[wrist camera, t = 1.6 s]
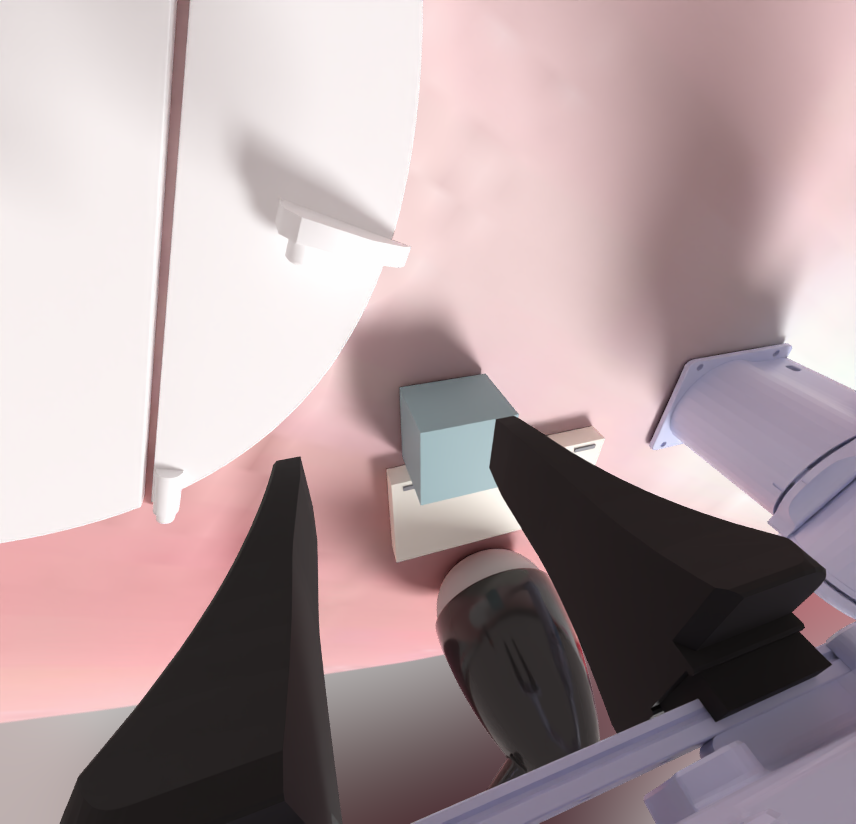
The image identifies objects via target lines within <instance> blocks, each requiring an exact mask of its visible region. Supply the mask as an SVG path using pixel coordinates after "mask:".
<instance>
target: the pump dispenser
mask: <svg viewBox="0 0 856 824" xmlns="http://www.w3.org/2000/svg"><path fill="white" fill-rule="evenodd" d="M436 632H437V636H438V639H439V642H440V645H441V648H442V650H443V652H444V655H445V657H446V659H447V662H448V664H449V666H450V668H451V670H452V672H453V675H454V677H455V679H456V681H457V683H458V685H459V687H460V689H461V690H462V692H463V694H464V696H465V698H466V699H467V701H468V703H469V705H470V706H471V708H472V710H473V711H474V713H475V714H476V716H477V717H478V719H479V721H480V722H481V724H482V725H483V726H484V728H485V729H486V731H487V732H488V734H489V735H490V736H491V738H492V739H493V740H494V742H495V743H496V744H497V745H498V746H499V748H500V749H501V750H502V751H503V753H504V754H505V755H506V760H505V762H504V763H503V765H502V767H501V768H500V770H499V771H498V773H497V774H496V776H495V777H494V779H493V780H492V782H491V784H490V786H489V787H488V788H487V790H489V789H491V788H494V787H496V786H498V785H500V784H503V783H505V782H507V781H510V780H512V779H514V778H517V777H519V776H521V775H523V774H526V773H528V772H530V771H533V770H535V769H537V768H540V767H542V766H544V765H546V764H549V763H551V762H553V761H556V760H558V759H560V758H563V757H565V756H567V755H569V754H572V753H574V752H576V751H579V750H581V749H583V748H586V747H588V746H590V745H592V744H595V743H597V742H599V741H600V735H599V725H598V718H597V712H596V706H595V701H594V696H593V691H592V687H591V682H590V678H589V674H588V670H587V666H586V663H585V660H584V656H583V653H582V649H581V646H580V643H579V640H578V637H577V635H576V633H575V630H574V628H573V626H572V624H571V621H570V619H569V617H568V615H567V613H566V610H565V608H564V606H563V604H562V602H561V599H560V597H559V595H558V593H557V591H556V589H555V587H554V585H553V583H552V581H551V579H550V577H549V576H548V575H547V574H546V573H545V572H543V571H541V570H539V569H538V568H537V567H536V566H535V565H534V564H533V563H532V562H531V561H530V560H529V559H527V558H526V557H524V556H522V555H521V554H519V553H516V552H514V551H510V550H506V549H489V550H484V551H480V552H477V553H474V554H472V555H470V556H468V557H466V558H465V559H463V560H462V561H460V562H459V563H458V564H456V565H455V566H454V567H453V568H452V569H451V570H450V571H449V573H448V574H447V575H446V577H445V579H444V580H443V582H442V584H441V587H440V590H439V593H438V598H437V621H436ZM487 790H486V791H487Z"/></svg>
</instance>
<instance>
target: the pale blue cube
mask: <svg viewBox="0 0 856 824" xmlns="http://www.w3.org/2000/svg"><path fill="white" fill-rule="evenodd" d="M399 390H400V414H401V438H402V457H403V460H404V462H405V465H406V468H407V470H408V473H409V476H410V478H411V481H412V484H413V486H414V489H415V492H416V494H417V497H418V500H419V502H420V505H425V504H429V503H434V502H438V501H442V500H446V499H451V498H455V497H459V496H463V495H467V494H472V493H476V492H480V491H484V490H489V489H493V488H497V485H496V483H495V480H494V478H493V476H492V473H491V471H490V469H489V465H490V457H491V450H492V443H493V436H494V428H495V421H496V419H499V418H504V417H509V416H516V417H517V418H518V415H519V414H518V413H517V412H516V411H515V409H514V408H513V407H512V406H511V404H510V403H509V402H508V401H507V400H506V398H505V397H504V396H503V395H502V393H501V392H500V391H499V390H498V389H497V387H496V386H495V385H494V384H493V382H492V381H491V380H490V379H489V377H488V376H487V375H486V374H480V375H474V376H468V377H462V378H455V379H449V380H443V381H437V382H430V383H424V384H418V385H412V386H405V387H399Z"/></svg>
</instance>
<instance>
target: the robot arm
mask: <svg viewBox="0 0 856 824" xmlns="http://www.w3.org/2000/svg"><path fill="white" fill-rule="evenodd" d="M791 350H792V346H791V345H789V344H787V343H785V344H779V345H773V346H767V347H762V348H756V349H750V350H745V351H739V352H733V353H727V354H722V355H716V356H710V357H704V358H699V359H693V360H690V361H689V362H687V364H686V365H685V366H684V369H683V371H682V373H681V375H680V378H679V380H678V382H677V384H676V386H675V389H674V391H673V393H672V395H671V398H670V400H669V402H668V404H667V406H666V409H665V411H664V413H663V415H662V418H661V420H660V422H659V424H658V427H657V429H656V431H655V433H654V435H653V438H652V440H651V442H650V445H649V446H650V448H651V449H653V450H658V449H662V448H666V447H671V446H675V445H679V444H683V443H684V444H685V445H686V446H688V447H689V448H690V449H691V450H693V451H694V452H695V453H696V454H698V455H699V456H700V457H701V458H703V459H704V460H705V461H706V462H707V463H709V464H710V465H711V466H712V467H714V468H715V469H716V470H717V471H719V472H720V473H721V474H722V475H724V476H725V477H726V478H727V479H729V480H730V481H731V482H732V483H734V484H735V485H736V486H737V487H739V488H740V489H741V490H742V491H744V492H745V493H746V494H747V495H749V496H750V497H751V498H752V499H753V500H755V501H756V502H757V503H758V504H760V505H761V506H762V507H763V508H765V509H766V510H767V511H768V512H770V513H771V514H772V515H773V516H772V517H771V518H770V519H769V520H768V522H767V523H768V524H769V525H770V526H772V527H773V528H774V529H775V530H776V531H778V532H779V534H778V535H775V534H771V533H767V532H764V531H760V530H756V529H753V528H749V527H745V526H742V525H738V524H735V523H732V522H728V521H725V520H722V519H719V518H716V517H713V516H710V515H707V514H704V513H701V512H698V511H695V510H693V509H690V508H687V507H684V506H682V505H679V504H677V503H674V502H672V501H669V500H667V499H664V498H662V497H659V496H657V495H654V494H652V493H650V492H647V491H645V490H643V489H641V488H639V487H636V486H634V485H632V484H630V483H628V482H626V481H624V480H622V479H620V478H618V477H616V476H614V475H612V474H610V473H608V472H606V471H604V470H602V469H601V468H599V467H597V466H595V465H593V464H592V463H590V462H588V461H586V460H585V459H583V458H581V457H579V456H578V455H576V454H574V453H573V452H571V451H569V450H568V449H566V448H565V447H563V446H561V445H560V444H558V443H557V442H555V441H553V440H552V439H550V438H549V437H547V436H546V435H544V434H543V433H541V432H539V431H538V430H536V429H535V428H533V427H532V426H530V425H529V424H527V423H525V422H524V421H522V420H521V419H519V418H517V417H516V416H509V417H504V418H499V419H496V421H495V428H494V436H493V443H492V450H491V457H490V465H489V469H490V471H491V473H492V476H493V478H494V480H495V483H496V485H497V487H498V489H499V491H500V493H501V496H502V497H503V499H504V501H505V502H506V504H507V506H508V507H509V509H510V511H511V512H512V514H513V516H514V517H515V519H516V521H517V522H518V524H519V525H520V527H521V529H522V530H523V532H524V533H525V535H526V537H527V538H528V540H529V542H530V543H531V545H532V546H533V548H534V550H535V551H536V553H537V554H538V556H539V558H540V560H541V561H542V563H543V565H544V567H545V569H546V571H547V573H548V575H549V577H550V579H551V581H552V583H553V585H554V587H555V589H556V591H557V593H558V595H559V597H560V599H561V602H562V604H563V606H564V608H565V610H566V613H567V615H568V617H569V619H570V621H571V624H572V626H573V628H574V630H575V633H576V635H577V637H578V640H579V642H580V644H581V647H582V649H583V651H584V654H585V656H586V659H587V661H588V663H589V665H590V668H591V671H592V673H593V676H594V678H595V681H596V683H597V686H598V689H599V691H600V694H601V696H602V699H603V701H604V704H605V707H606V710H607V712H608V715H609V718H610V721H611V723H612V725H613V727H614V729H615V731H616V733H617V734H616V735H613V736H611V737H609V738H606V739H604V740H602V741H599V742H597V743H595V744H592V745H590V746H588V747H586V748H583V749H581V750H579V751H576V752H574V753H572V754H569V755H567V756H565V757H563V758H560V759H558V760H556V761H553V762H551V763H549V764H546V765H544V766H542V767H540V768H537V769H535V770H533V771H530V772H528V773H526V774H523V775H521V776H519V777H517V778H514V779H512V780H510V781H507V782H505V783H503V784H500V785H498V786H496V787H494V788H491V789H489V790H487V791H484V792H482V793H480V794H478V795H475V796H473V797H471V798H468V799H466V800H464V801H461V802H459V803H457V804H455V805H452V806H450V807H448V808H445V809H443V810H441V811H438V812H436V813H434V814H432V815H429V816H427V817H425V818H422V819H420V820H418V821H415V822H413V823H411V824H539V823H540V822H543V821H545V820H547V819H549V818H551V817H553V816H555V815H558V814H560V813H562V812H564V811H566V810H568V809H570V808H572V807H574V806H577V805H579V804H581V803H583V802H585V801H587V800H589V799H591V798H594V797H595V796H598V795H600V794H602V793H604V792H606V791H608V790H610V789H613V788H615V787H617V786H619V785H621V784H623V783H625V782H627V781H629V780H632V779H634V778H636V777H638V776H640V775H642V774H644V773H646V772H648V771H651V770H653V769H655V768H657V767H659V766H661V765H663V764H665V763H667V762H670V761H671V760H674V759H676V758H678V757H680V756H682V755H684V754H686V753H688V752H691V751H693V750H695V749H697V748H699V747H701V746H702V747H701V748H700V757H701V759H700V760H698V761H697V762H695V763H693V764H691V765H689V766H687V767H686V768H684V769H682V770H680V771H678V772H677V773H675V774H674V775H673V776H672V777H671V778H670V779H669V780H667V781H666V782H664V783H663V784H662V785H660V786H658V787H657V788H655V789H654V790H652V791H650V792H649V793H647V794H646V795H644V803H645V804H646V806H647V808H648V810H649V812H650V814H651V815H652V817H653V819H654V821H655V823H656V824H856V622H854V623H852V624H849V625H847V626H846V627H844V628H842V629H841V630H839V631H838V632H836V633H835V634H833V635H832V636H831V637H830V638H829V639H827V640H826V643H825V644H822V645H820V646H818V647H814V646H813V645H812V644H811V643H810V642H809V641H808V640H807V639H806V638H805V637H804V636H803V635H802V634H801V633H800V632H799V631H801V630H803V629H804V628H805V627H804V624H803V623H802V622H801V621H800V620H799V619H798V618H797V617H796V616H795V615H794V614H793V613H792V612H793V611H794V610H795V609H796V608H797V607H798V606H799V605H800V604H801V603H802V602H803V601H805V599H807V598H808V597H809V596H810V595H811V594H812V593H813V592H814V593H815V594H817V595H818V596H819V597H820V598H822V599H823V600H824V601H826V602H827V603H829V604H830V605H832V606H833V607H835V608H836V609H838V610H839V611H841V612H843V613H844V614H846V615H848V616H850V617H852V618H854V619H855V620H856V391H855V390H853V389H851V388H849V387H847V386H845V385H843V384H841V383H838V382H836V381H834V380H832V379H830V378H828V377H826V376H824V375H822V374H820V373H817V372H815V371H813V370H811V369H809V368H807V367H805V366H803V365H801V364H799V363H796V362H794V361H792V360H790V359H788V358H787V356H788V355H789V353H790V351H791ZM60 824H342V817H341V810H340V802H339V794H338V786H337V779H336V771H335V764H334V755H333V747H332V739H331V731H330V723H329V714H328V706H327V697H326V689H325V680H324V671H323V662H322V653H321V644H320V634H319V611H318V555H317V535H316V527H315V520H314V512H313V506H312V501H311V497H310V493H309V489H308V485H307V481H306V477H305V473H304V469H303V465H302V461H301V457H295V458H289V459H284V460H279V461H276V462H275V464H274V465H273V468H272V472H271V476H270V479H269V482H268V485H267V488H266V491H265V494H264V497H263V499H262V502H261V504H260V507H259V509H258V512H257V514H256V516H255V519H254V521H253V524H252V526H251V528H250V530H249V533H248V535H247V537H246V539H245V541H244V543H243V545H242V547H241V549H240V551H239V553H238V555H237V557H236V559H235V561H234V563H233V565H232V567H231V568H230V570H229V572H228V574H227V576H226V578H225V579H224V581H223V583H222V585H221V586H220V588H219V590H218V591H217V593H216V595H215V596H214V598H213V600H212V601H211V603H210V605H209V606H208V608H207V609H206V611H205V612H204V614H203V615H202V617H201V618H200V620H199V622H198V623H197V625H196V626H195V628H194V629H193V631H192V632H191V634H190V635H189V637H188V638H187V640H186V641H185V642H184V644H183V645H182V647H181V648H180V650H179V651H178V652H177V654H176V655H175V656H174V658H173V659H172V660H171V662H170V663H169V664H168V666H167V667H166V668H165V670H164V671H163V673H162V674H161V675H160V677H159V678H158V679H157V681H156V682H155V683H154V685H153V686H152V687H151V689H150V690H149V691H148V693H147V694H146V695H145V697H144V698H143V699H142V700H141V702H140V703H139V704H138V705H137V707H136V708H135V709H134V711H133V712H132V713H131V714H130V715H129V717H128V718H127V719H126V720H125V721H124V723H123V724H122V725H121V726H120V727H119V729H118V730H117V731H116V732H115V733H114V735H113V736H112V737H111V738H110V740H109V741H108V742H107V743H106V744H105V746H104V747H103V748H102V749H101V750H100V752H99V753H98V754H97V755H96V756H95V757H94V759H93V760H92V761H91V762H90V763H89V765H88V766H87V767H86V768H85V769H84V771H83V772H82V773H81V774H80V775H79V777H78V779H77V782H76V784H75V787H74V789H73V792H72V794H71V797H70V799H69V802H68V804H67V806H66V809H65V811H64V814H63V816H62V819H61V822H60Z"/></svg>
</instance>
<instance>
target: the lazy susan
mask: <svg viewBox="0 0 856 824" xmlns="http://www.w3.org/2000/svg"><path fill="white" fill-rule="evenodd" d="M176 13H177V0H0V543H5V542H10V541H16V540H22V539H27V538H32V537H37V536H42V535H46V534H51V533H55V532H59V531H64V530H68V529H72V528H75V527H79V526H83V525H87V524H90V523H94V522H97V521H101V520H104V519H107V518H110V517H113V516H116V515H119V514H122V513H125V512H128V511H131V510H134V509H136V508H139V507H141V504H142V502H143V499H144V496H145V483H146V467H147V452H148V437H149V422H150V407H151V392H152V376H153V361H154V346H155V331H156V316H157V301H158V286H159V270H160V255H161V240H162V225H163V210H164V195H165V179H166V164H167V149H168V134H169V119H170V104H171V89H172V73H173V58H174V43H175V28H176ZM422 32H423V0H190V6H189V19H188V32H187V45H186V58H185V70H184V83H183V96H182V109H181V122H180V135H179V148H178V161H177V174H176V187H175V200H174V213H173V226H172V239H171V252H170V265H169V278H168V291H167V304H166V317H165V330H164V343H163V355H162V368H161V381H160V394H159V407H158V420H157V433H156V446H155V459H154V472H153V485H152V498H151V502H153V513H154V514H155V515H156V520H157V521H158V522H159V523H162V524H167V523H170V522H172V521H173V520H174V519H175V514H176V513H177V512H178V511H179V506H180V498H181V490H182V489H183V488H185V487H187V486H189V485H191V484H193V483H195V482H197V481H199V480H201V479H203V478H204V477H206V476H208V475H210V474H211V473H213V472H215V471H217V470H218V469H220V468H221V467H223V466H225V465H226V464H228V463H229V462H231V461H233V460H234V459H235V458H237V457H238V456H240V455H241V454H243V453H244V452H246V451H247V450H248V449H250V448H251V447H252V446H254V445H255V444H256V443H258V442H259V441H260V440H261V439H263V438H264V437H265V436H266V435H267V434H269V433H270V432H271V431H272V430H273V429H274V428H276V427H277V426H278V425H279V424H280V423H281V422H282V421H283V420H284V419H285V418H286V417H287V416H289V415H290V414H291V413H292V412H293V411H294V410H295V409H296V408H297V406H298V405H299V404H300V403H301V402H302V401H303V400H304V399H305V398H306V397H307V396H308V394H309V393H310V392H311V391H312V390H313V389H314V387H315V386H316V385H317V384H318V383H319V381H320V380H321V379H322V377H323V376H324V375H325V373H326V372H327V371H328V370H329V368H330V367H331V365H332V364H333V362H334V361H335V360H336V358H337V357H338V355H339V354H340V352H341V350H342V349H343V347H344V346H345V344H346V343H347V341H348V339H349V338H350V336H351V334H352V332H353V330H354V329H355V327H356V325H357V323H358V321H359V319H360V317H361V316H362V314H363V312H364V310H365V308H366V306H367V303H368V301H369V299H370V297H371V295H372V292H373V290H374V288H375V285H376V283H377V280H378V278H379V275H380V273H381V270H382V268H383V266H390V267H398V268H399V267H403V266H404V265H405V263H406V260H407V257H408V254H409V251H410V248H411V246H408V245H405V244H403V243H400V242H397V241H395V240H392V238H393V234H394V231H395V228H396V224H397V220H398V216H399V212H400V209H401V205H402V200H403V196H404V191H405V187H406V182H407V177H408V171H409V166H410V160H411V155H412V148H413V141H414V134H415V127H416V118H417V108H418V99H419V87H420V73H421V58H422Z"/></svg>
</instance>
